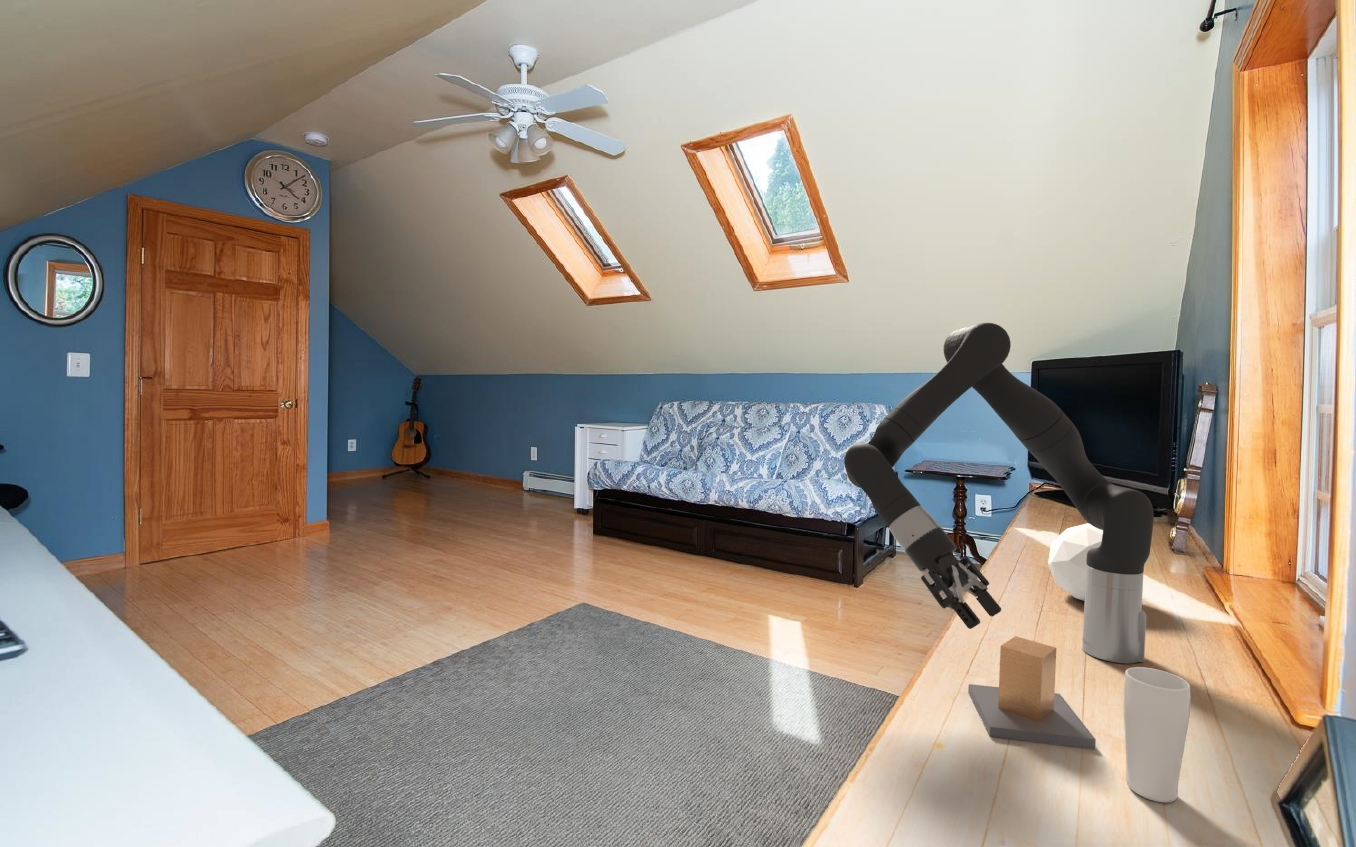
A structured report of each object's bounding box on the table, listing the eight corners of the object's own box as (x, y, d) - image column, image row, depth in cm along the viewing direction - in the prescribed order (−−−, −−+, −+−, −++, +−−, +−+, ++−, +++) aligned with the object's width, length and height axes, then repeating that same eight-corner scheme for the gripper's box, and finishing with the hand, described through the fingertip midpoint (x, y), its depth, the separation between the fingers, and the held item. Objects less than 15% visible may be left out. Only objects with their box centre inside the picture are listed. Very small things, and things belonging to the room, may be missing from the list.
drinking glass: (1106, 776, 84) (1111, 666, 83) (1153, 774, 84) (1159, 665, 84) (1148, 810, 77) (1154, 691, 76) (1199, 807, 78) (1206, 689, 77)
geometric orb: (1093, 621, 160) (1125, 555, 164) (1140, 621, 141) (1176, 546, 145) (1021, 579, 164) (1055, 515, 169) (1058, 572, 145) (1095, 501, 150)
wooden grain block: (1013, 695, 103) (1015, 636, 102) (1053, 710, 98) (1056, 647, 98) (998, 707, 99) (1000, 645, 98) (1039, 723, 94) (1042, 658, 94)
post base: (1059, 702, 104) (1061, 658, 103) (1095, 749, 90) (1097, 698, 90) (968, 692, 107) (969, 649, 107) (989, 736, 93) (991, 687, 93)
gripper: (917, 531, 104) (986, 618, 96) (954, 520, 113) (1020, 598, 105) (886, 556, 108) (950, 642, 100) (925, 543, 117) (986, 620, 109)
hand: (986, 619), depth 103 cm, fingers open, 8 cm apart
